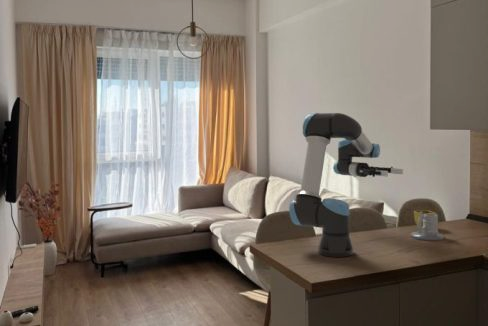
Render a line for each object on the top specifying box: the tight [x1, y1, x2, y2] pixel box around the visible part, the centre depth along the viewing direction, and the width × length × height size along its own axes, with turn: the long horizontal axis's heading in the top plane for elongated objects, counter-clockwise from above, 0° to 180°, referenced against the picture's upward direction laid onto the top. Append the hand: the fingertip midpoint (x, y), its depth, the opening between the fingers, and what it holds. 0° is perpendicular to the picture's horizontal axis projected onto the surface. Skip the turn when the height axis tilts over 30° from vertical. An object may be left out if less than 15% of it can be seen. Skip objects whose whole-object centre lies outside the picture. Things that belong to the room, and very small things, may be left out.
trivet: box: [410, 230, 444, 242], centre depth 229 cm, size 15×15×1 cm
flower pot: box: [413, 209, 438, 227], centre depth 247 cm, size 9×9×9 cm
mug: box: [416, 210, 440, 236], centre depth 228 cm, size 8×12×12 cm, turn 112°
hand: (395, 172), depth 229 cm, fingers open, 13 cm apart
